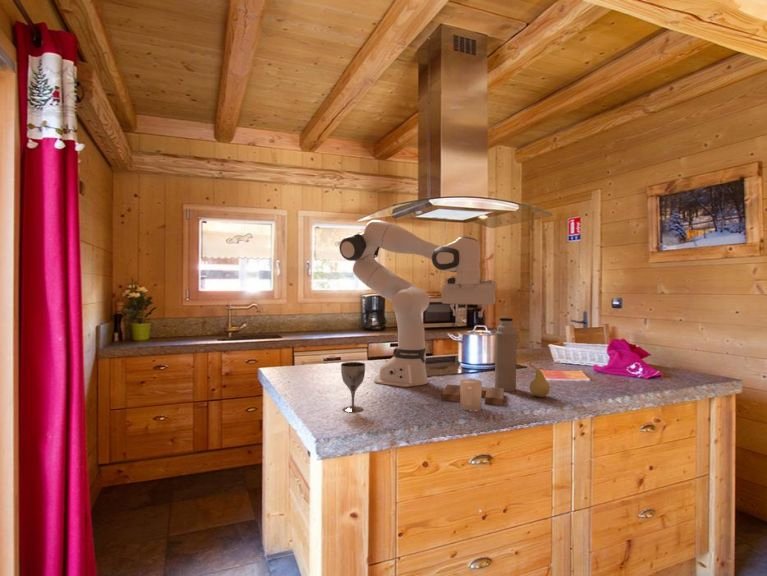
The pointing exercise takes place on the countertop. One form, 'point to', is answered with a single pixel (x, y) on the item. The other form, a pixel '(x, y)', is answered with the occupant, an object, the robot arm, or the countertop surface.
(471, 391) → the beige ceramic cup
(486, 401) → the brown wooden board
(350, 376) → the wine glass
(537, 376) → the fruit
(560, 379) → the countertop surface
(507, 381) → the thermos bottle
